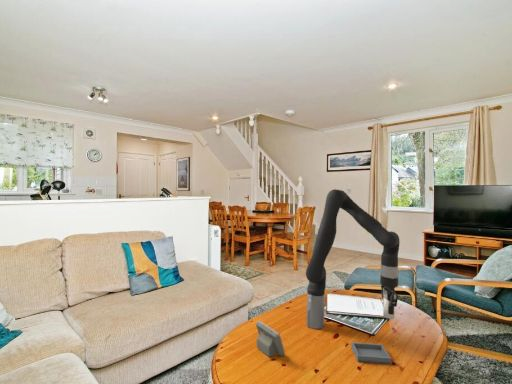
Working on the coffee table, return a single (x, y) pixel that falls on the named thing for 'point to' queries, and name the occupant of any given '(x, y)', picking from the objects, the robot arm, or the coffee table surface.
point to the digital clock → (269, 340)
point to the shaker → (386, 309)
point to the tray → (370, 353)
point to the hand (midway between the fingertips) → (388, 311)
